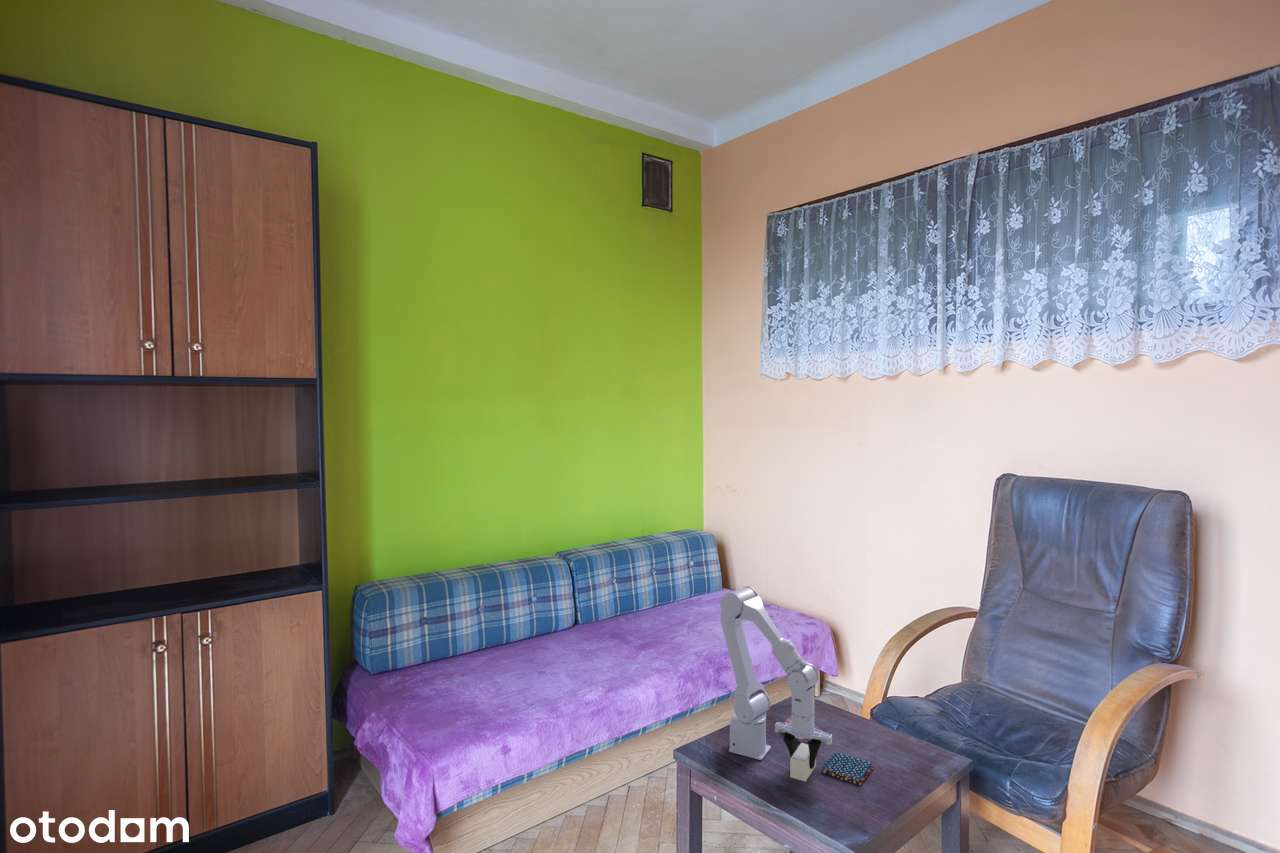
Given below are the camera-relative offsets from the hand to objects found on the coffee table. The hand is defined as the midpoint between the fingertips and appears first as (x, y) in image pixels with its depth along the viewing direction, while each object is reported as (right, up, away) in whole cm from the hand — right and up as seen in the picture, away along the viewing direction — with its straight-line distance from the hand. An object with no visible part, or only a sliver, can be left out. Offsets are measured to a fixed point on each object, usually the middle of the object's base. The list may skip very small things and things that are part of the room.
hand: (803, 764), depth 172 cm
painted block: (0, -2, 0) cm, 2 cm away
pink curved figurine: (+7, +1, +20) cm, 22 cm away
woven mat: (+12, -2, 0) cm, 12 cm away
